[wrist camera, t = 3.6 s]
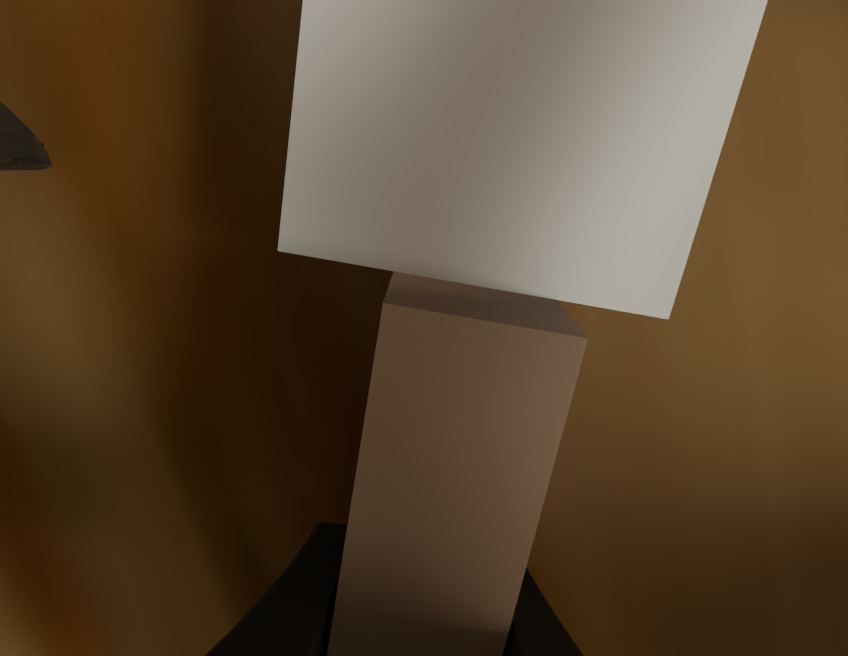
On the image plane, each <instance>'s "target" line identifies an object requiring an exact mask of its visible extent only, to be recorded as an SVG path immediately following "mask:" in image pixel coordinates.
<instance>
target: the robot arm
mask: <svg viewBox="0 0 848 656" xmlns="http://www.w3.org/2000/svg"><path fill="white" fill-rule="evenodd" d="M346 532H347V526H345V525H339V524H332V523H326V522H321V523H320V524H318V525H317V526H315V528H314V530H313V532H312V534H311V535H310V537H309V538H308V540H307V541H306V543H305V544H304V546H303V547H302V549H301V550H300V551H299V553H298V554H297V555H296V557H295V558H294V559H293V561H292V562H291V563H290V565H289V566H288V567H287V569H286V570H285V571H284V572H283V573H282V575H281V576H280V577H279V578H278V579H277V581H276V582H275V583H274V584H273V585H272V587H271V588H270V589H269V590H268V591H267V593H266V594H265V595H264V596H263V597H262V598H261V599H260V600H259V602H258V603H257V604H256V605H255V606H254V607H253V608H252V609H251V610H250V611H249V612H248V613H247V614H246V615H245V616H244V617H243V618H242V619H241V621H240V622H239V623H238V624H237V625H236V626H235V627H234V628H233V629H232V630H231V631H230V632H229V633H228V634H227V635H226V636H225V637H224V638H223V639H222V640H221V641H220V642H219V643H218V644H217V645H216V646H214V647H213V648H212V649H211V650H210V651H209V652H208V653H207V654H206V655H205V656H327V651H328V645H329V639H330V632H331V626H332V620H333V614H334V607H335V601H336V595H337V588H338V582H339V576H340V570H341V563H342V557H343V551H344V544H345V538H346ZM502 656H583V654H582V653H581V651H580V650H579V648H578V647H577V646H576V644H575V643H574V641H573V640H572V638H571V637H570V635H569V634H568V632H567V631H566V629H565V628H564V626H563V625H562V623H561V622H560V620H559V619H558V617H557V616H556V614H555V613H554V611H553V610H552V608H551V606H550V605H549V603H548V602H547V600H546V598H545V597H544V595H543V594H542V592H541V590H540V589H539V587H538V585H537V584H536V582H535V581H534V579H533V577H532V576H531V574H530V572H529V571H528V569H527V567H526V570H525V574H524V578H523V581H522V585H521V589H520V592H519V596H518V600H517V603H516V607H515V611H514V614H513V618H512V622H511V625H510V629H509V633H508V637H507V640H506V644H505V648H504V651H503V655H502Z"/></svg>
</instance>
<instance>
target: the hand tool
mask: <svg viewBox="0 0 848 656" xmlns="http://www.w3.org/2000/svg"><path fill="white" fill-rule="evenodd" d="M43 146H44V144H43V143H41V144H40V142H39V141H38V140H37V138H36V137H35V136H34V134H33V133H32V132H31V130H30V129H29V128H28V127H27V126H26V125H24V124H23V123H22V122H21V121H20V120H19V119H18V118H17V117H16V116H15V115H14V114H13V113H12V112H11V111H10V110H9V109H8V108H7V107H6V106H5V105H4V104H2V103H1V102H0V170H40V169H45V168H48V167H51V166H52V164H51V161H50V159H49V157H48V155H47V154H48V153H47V152H46V150H45V149H44V148H43Z"/></svg>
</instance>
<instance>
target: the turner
mask: <svg viewBox="0 0 848 656" xmlns="http://www.w3.org/2000/svg"><path fill="white" fill-rule="evenodd" d="M767 1H768V0H303V4H302V14H301V23H300V33H299V43H298V53H297V63H296V73H295V83H294V93H293V102H292V112H291V122H290V132H289V142H288V152H287V162H286V172H285V182H284V191H283V201H282V211H281V221H280V231H279V241H278V251H280V252H286V253H292V254H298V255H303V256H309V257H315V258H320V259H326V260H332V261H338V262H343V263H349V264H355V265H360V266H366V267H372V268H378V269H383V270H389V271H393V274H392V277H391V280H390V283H389V286H388V289H387V292H386V295H385V298H384V301H383V305H382V312H381V318H380V324H379V331H378V337H377V343H376V349H375V356H374V362H373V368H372V375H371V381H370V387H369V393H368V400H367V406H366V412H365V419H364V425H363V431H362V437H361V444H360V450H359V456H358V463H357V469H356V475H355V481H354V488H353V494H352V500H351V507H350V513H349V519H348V526H347V532H346V538H345V544H344V551H343V557H342V563H341V570H340V576H339V582H338V588H337V595H336V601H335V607H334V614H333V620H332V626H331V632H330V639H329V645H328V651H327V656H502V655H503V651H504V648H505V644H506V640H507V637H508V633H509V629H510V625H511V622H512V618H513V614H514V611H515V607H516V603H517V600H518V596H519V592H520V589H521V585H522V581H523V578H524V574H525V570H526V567H527V563H528V559H529V555H530V552H531V548H532V544H533V541H534V537H535V533H536V530H537V526H538V522H539V519H540V515H541V511H542V508H543V504H544V500H545V497H546V493H547V489H548V485H549V482H550V478H551V474H552V471H553V467H554V463H555V460H556V456H557V452H558V449H559V445H560V441H561V438H562V434H563V430H564V427H565V423H566V419H567V415H568V412H569V408H570V404H571V401H572V397H573V393H574V390H575V386H576V382H577V379H578V375H579V371H580V368H581V364H582V360H583V357H584V353H585V349H586V345H587V342H588V337H587V336H586V335H585V334H584V333H583V331H582V330H581V329H580V328H579V327H578V325H577V324H576V323H575V322H574V321H573V319H572V318H571V317H570V316H569V314H568V313H567V312H566V311H565V310H564V308H563V307H562V306H561V305H560V304H559V302H558V301H557V300H560V301H566V302H572V303H577V304H583V305H589V306H595V307H600V308H606V309H612V310H617V311H623V312H629V313H635V314H640V315H646V316H652V317H657V318H663V319H669V317H670V313H671V310H672V307H673V304H674V300H675V297H676V294H677V291H678V288H679V284H680V281H681V278H682V275H683V272H684V268H685V265H686V262H687V259H688V255H689V252H690V249H691V246H692V243H693V239H694V236H695V233H696V230H697V227H698V223H699V220H700V217H701V214H702V210H703V207H704V204H705V201H706V198H707V194H708V191H709V188H710V185H711V181H712V178H713V175H714V172H715V169H716V165H717V162H718V159H719V156H720V153H721V149H722V146H723V143H724V140H725V136H726V133H727V130H728V127H729V124H730V120H731V117H732V114H733V111H734V108H735V104H736V101H737V98H738V95H739V91H740V88H741V85H742V82H743V79H744V75H745V72H746V69H747V66H748V63H749V59H750V56H751V53H752V50H753V46H754V43H755V40H756V37H757V34H758V30H759V27H760V24H761V21H762V17H763V14H764V11H765V8H766V5H767Z"/></svg>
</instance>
